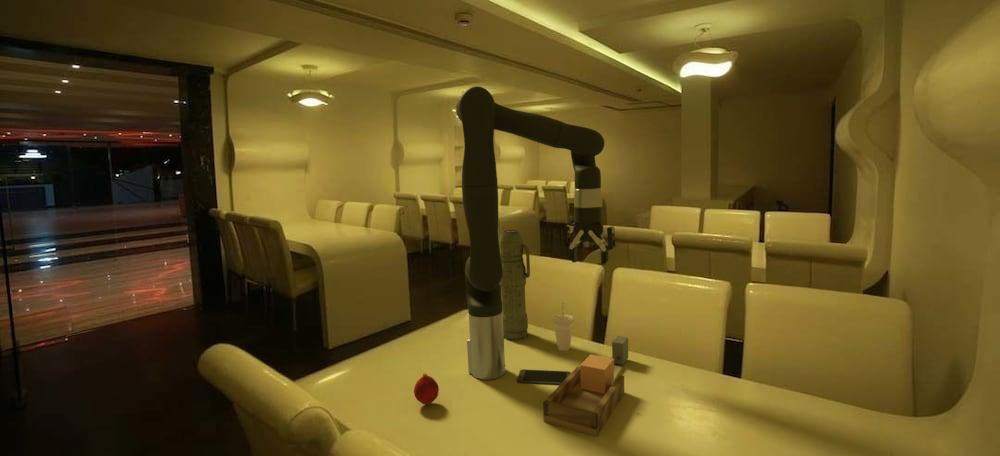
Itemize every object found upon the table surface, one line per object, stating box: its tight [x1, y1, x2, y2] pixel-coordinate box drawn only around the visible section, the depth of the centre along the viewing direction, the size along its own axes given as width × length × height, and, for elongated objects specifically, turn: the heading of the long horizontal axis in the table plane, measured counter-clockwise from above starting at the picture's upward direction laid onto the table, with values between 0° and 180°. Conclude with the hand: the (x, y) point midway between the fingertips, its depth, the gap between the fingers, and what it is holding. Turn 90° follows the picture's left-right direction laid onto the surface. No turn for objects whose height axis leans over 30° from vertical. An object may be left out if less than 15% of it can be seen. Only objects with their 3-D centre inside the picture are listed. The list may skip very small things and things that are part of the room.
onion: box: [413, 372, 440, 406], centre depth 109 cm, size 6×6×8 cm
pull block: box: [579, 335, 629, 394], centre depth 119 cm, size 25×6×7 cm, turn 149°
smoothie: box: [552, 302, 575, 352], centre depth 139 cm, size 6×6×14 cm
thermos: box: [498, 229, 531, 341], centre depth 150 cm, size 9×12×35 cm
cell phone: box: [516, 368, 572, 386], centre depth 121 cm, size 7×14×1 cm, turn 79°
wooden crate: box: [542, 366, 625, 437], centre depth 105 cm, size 20×12×4 cm, turn 149°
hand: (589, 263), depth 127 cm, fingers open, 8 cm apart
